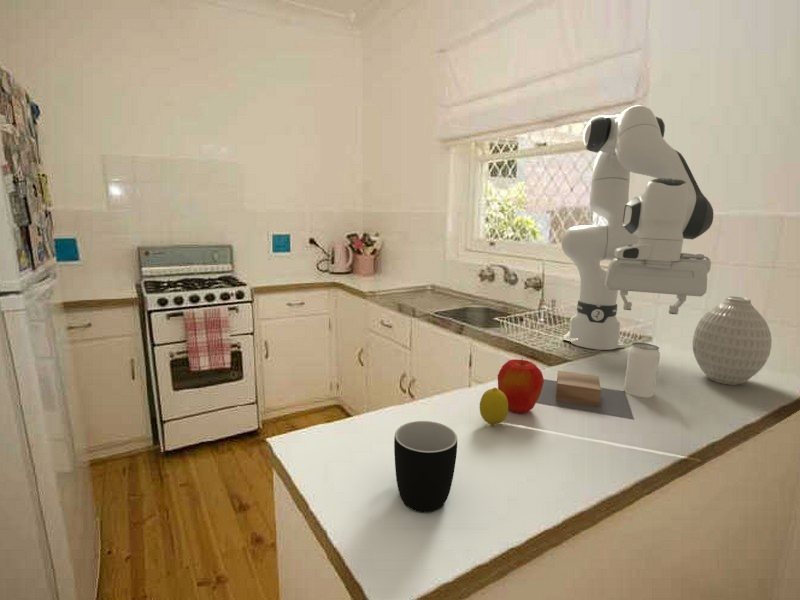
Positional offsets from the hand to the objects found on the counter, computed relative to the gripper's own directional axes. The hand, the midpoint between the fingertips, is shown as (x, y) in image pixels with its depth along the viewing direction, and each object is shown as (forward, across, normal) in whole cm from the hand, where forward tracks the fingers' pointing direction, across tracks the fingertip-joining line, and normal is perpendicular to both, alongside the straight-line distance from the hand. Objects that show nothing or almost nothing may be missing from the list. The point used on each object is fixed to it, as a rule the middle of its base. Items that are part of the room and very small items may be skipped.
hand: (649, 311), depth 101 cm
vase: (+20, -23, -20) cm, 37 cm away
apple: (+21, +26, +22) cm, 40 cm away
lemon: (+21, +30, +31) cm, 48 cm away
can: (+20, 0, 0) cm, 21 cm away
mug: (+21, +37, +57) cm, 71 cm away
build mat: (+20, +14, +9) cm, 26 cm away
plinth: (+20, +14, +9) cm, 26 cm away
